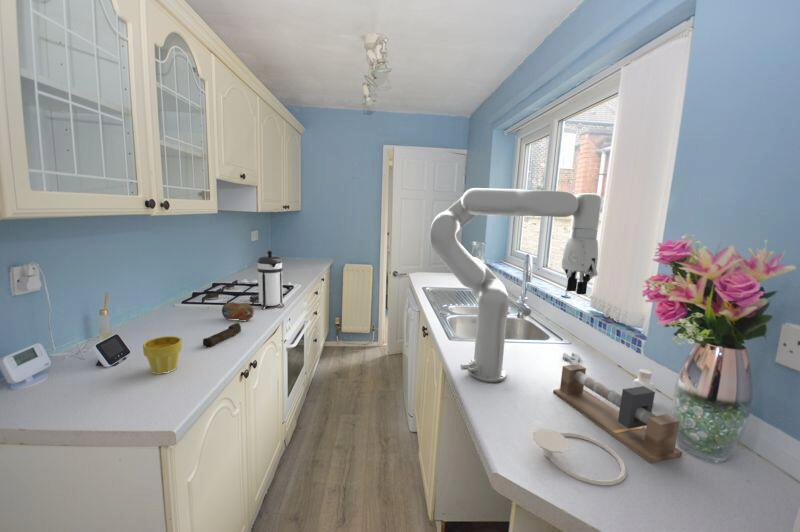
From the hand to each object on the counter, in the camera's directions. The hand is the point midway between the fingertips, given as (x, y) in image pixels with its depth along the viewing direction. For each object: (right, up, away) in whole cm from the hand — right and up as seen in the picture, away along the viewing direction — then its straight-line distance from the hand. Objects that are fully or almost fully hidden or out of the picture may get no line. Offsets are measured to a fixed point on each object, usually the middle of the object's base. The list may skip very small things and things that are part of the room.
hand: (576, 291), depth 113 cm
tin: (-132, -17, +56) cm, 144 cm away
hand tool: (-127, -22, +32) cm, 133 cm away
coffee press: (-126, -13, +81) cm, 151 cm away
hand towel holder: (-15, -37, -30) cm, 50 cm away
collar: (+4, -32, -22) cm, 39 cm away
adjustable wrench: (+8, -30, +17) cm, 35 cm away
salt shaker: (+18, -33, -3) cm, 38 cm away
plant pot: (-133, -26, +4) cm, 135 cm away
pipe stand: (+2, -34, -15) cm, 37 cm away
